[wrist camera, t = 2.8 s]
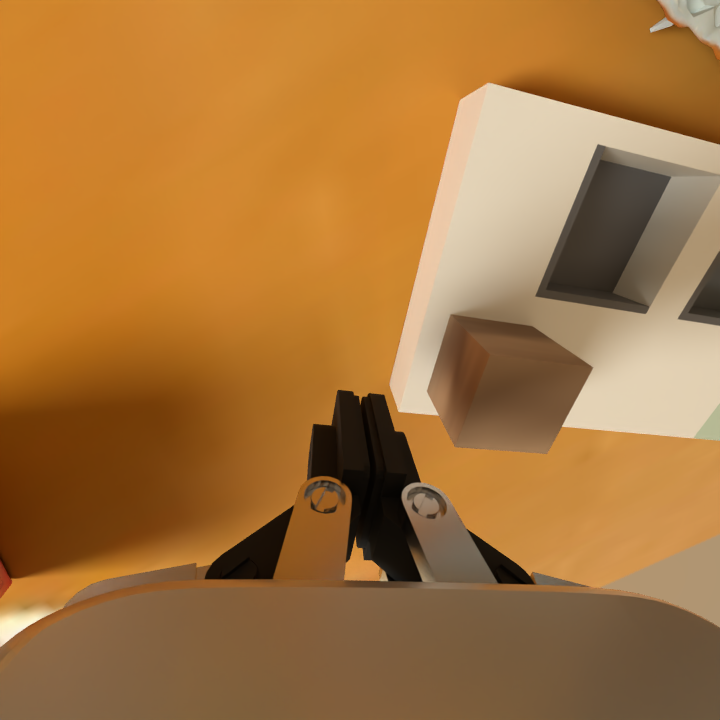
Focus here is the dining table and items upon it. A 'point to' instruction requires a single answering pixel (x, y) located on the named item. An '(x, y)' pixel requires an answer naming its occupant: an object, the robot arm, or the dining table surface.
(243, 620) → the robot arm
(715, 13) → the food on plate
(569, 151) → the box
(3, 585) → the cracker box
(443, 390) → the walnut block
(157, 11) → the dining table surface
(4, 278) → the dining table surface
